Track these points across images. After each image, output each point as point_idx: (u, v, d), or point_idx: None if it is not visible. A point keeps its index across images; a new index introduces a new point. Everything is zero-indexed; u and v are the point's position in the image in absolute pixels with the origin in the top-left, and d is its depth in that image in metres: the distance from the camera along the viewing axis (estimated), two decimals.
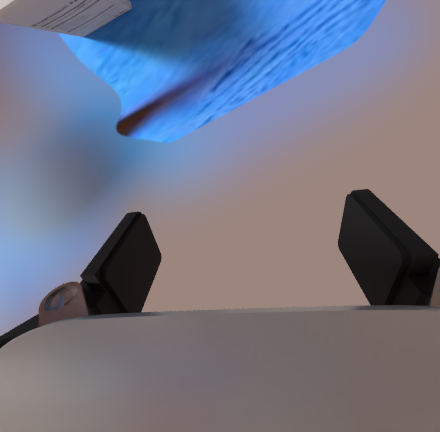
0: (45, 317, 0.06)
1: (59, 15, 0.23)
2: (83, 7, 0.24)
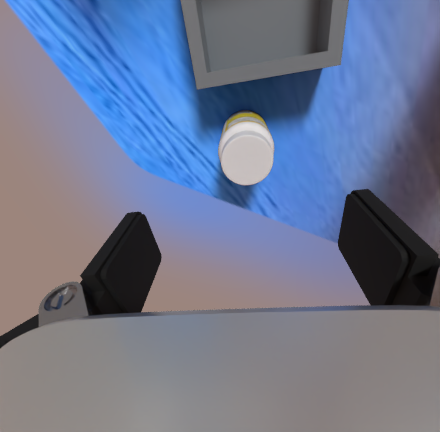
0: (45, 317, 0.06)
1: None
2: None
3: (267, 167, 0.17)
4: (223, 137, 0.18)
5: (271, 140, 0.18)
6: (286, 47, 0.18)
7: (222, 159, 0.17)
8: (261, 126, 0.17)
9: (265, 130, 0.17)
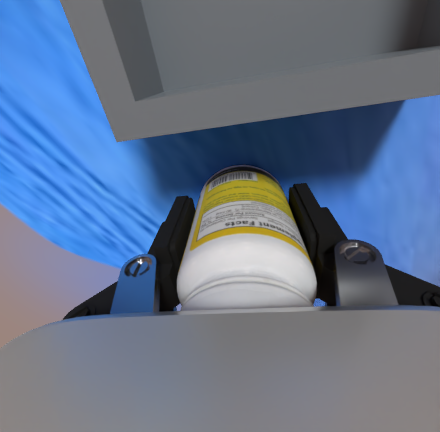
0: (130, 282, 0.07)
1: None
2: None
3: None
4: (185, 268, 0.07)
5: (313, 280, 0.07)
6: (343, 35, 0.07)
7: None
8: (287, 248, 0.06)
9: (298, 259, 0.06)
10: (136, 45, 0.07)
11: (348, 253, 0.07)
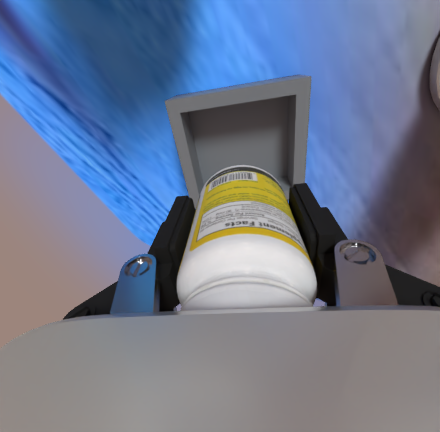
0: (130, 282, 0.07)
1: None
2: None
3: None
4: (185, 269, 0.07)
5: (313, 280, 0.07)
6: None
7: None
8: (287, 248, 0.06)
9: (298, 259, 0.06)
10: (199, 180, 0.22)
11: (348, 253, 0.07)
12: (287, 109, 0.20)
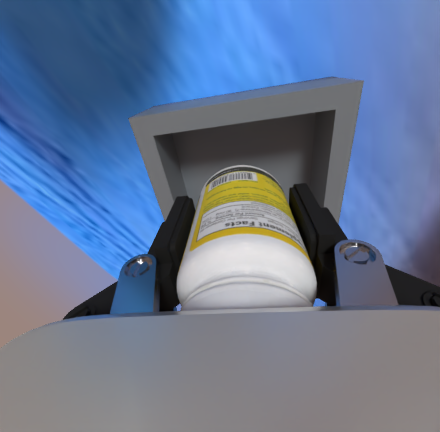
0: (130, 282, 0.07)
1: None
2: None
3: None
4: (185, 269, 0.07)
5: (313, 280, 0.07)
6: None
7: None
8: (287, 248, 0.06)
9: (298, 259, 0.06)
10: None
11: (348, 253, 0.07)
12: (313, 127, 0.14)
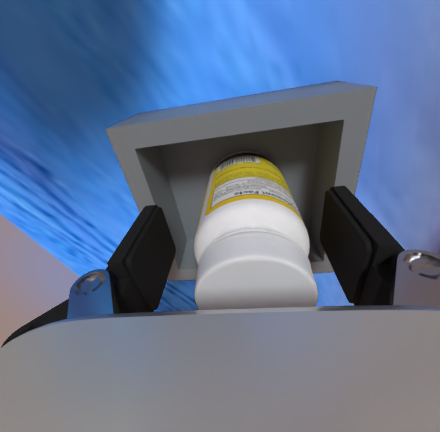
0: (77, 301, 0.07)
1: None
2: None
3: None
4: (202, 229, 0.08)
5: (306, 237, 0.08)
6: None
7: (197, 296, 0.07)
8: (285, 210, 0.08)
9: (294, 219, 0.08)
10: (178, 240, 0.15)
11: (414, 264, 0.06)
12: (316, 137, 0.12)
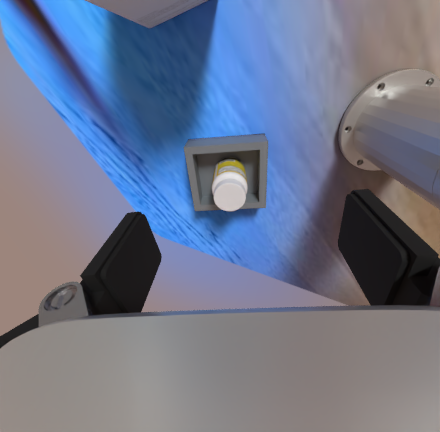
0: (45, 317, 0.06)
1: None
2: None
3: (242, 201, 0.27)
4: (215, 180, 0.28)
5: (245, 183, 0.28)
6: None
7: (214, 195, 0.27)
8: (239, 175, 0.28)
9: (242, 177, 0.28)
10: (200, 193, 0.35)
11: None
12: (257, 153, 0.32)
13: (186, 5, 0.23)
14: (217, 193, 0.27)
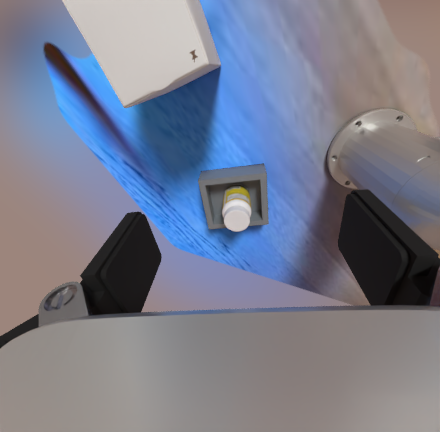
0: (45, 317, 0.06)
1: None
2: None
3: (247, 223, 0.34)
4: (224, 206, 0.35)
5: (249, 208, 0.35)
6: None
7: (224, 220, 0.34)
8: (244, 202, 0.34)
9: (246, 204, 0.34)
10: (212, 214, 0.41)
11: None
12: (258, 179, 0.39)
13: (196, 78, 0.30)
14: (226, 218, 0.33)
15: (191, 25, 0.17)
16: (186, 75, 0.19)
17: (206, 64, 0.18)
